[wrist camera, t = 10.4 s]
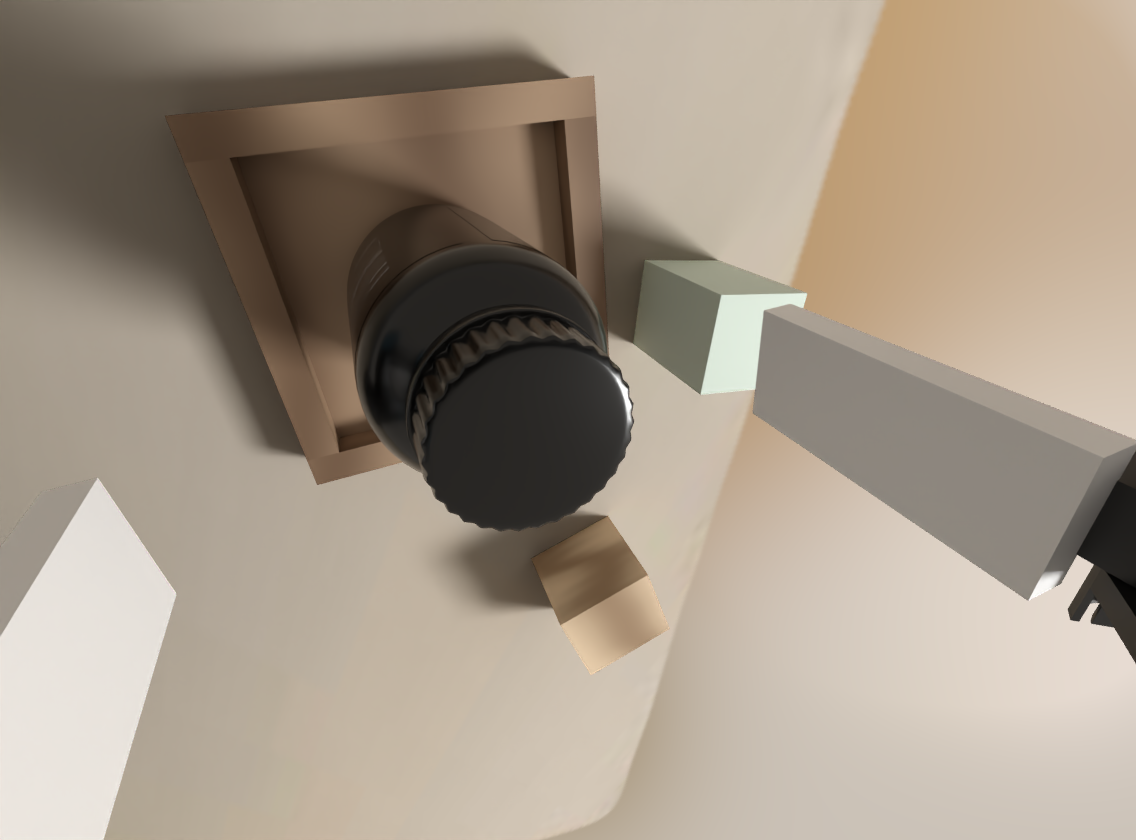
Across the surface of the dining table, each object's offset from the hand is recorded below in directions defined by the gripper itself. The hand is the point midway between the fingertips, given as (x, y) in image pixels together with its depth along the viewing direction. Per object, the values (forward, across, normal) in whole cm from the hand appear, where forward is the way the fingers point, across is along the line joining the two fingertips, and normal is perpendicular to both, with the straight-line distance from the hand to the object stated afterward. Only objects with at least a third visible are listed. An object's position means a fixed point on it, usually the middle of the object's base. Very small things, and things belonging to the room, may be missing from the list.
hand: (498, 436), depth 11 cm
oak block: (+12, +6, -18) cm, 23 cm away
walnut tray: (+13, +1, 0) cm, 13 cm away
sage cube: (+12, +12, -3) cm, 17 cm away
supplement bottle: (+12, +1, 0) cm, 12 cm away
